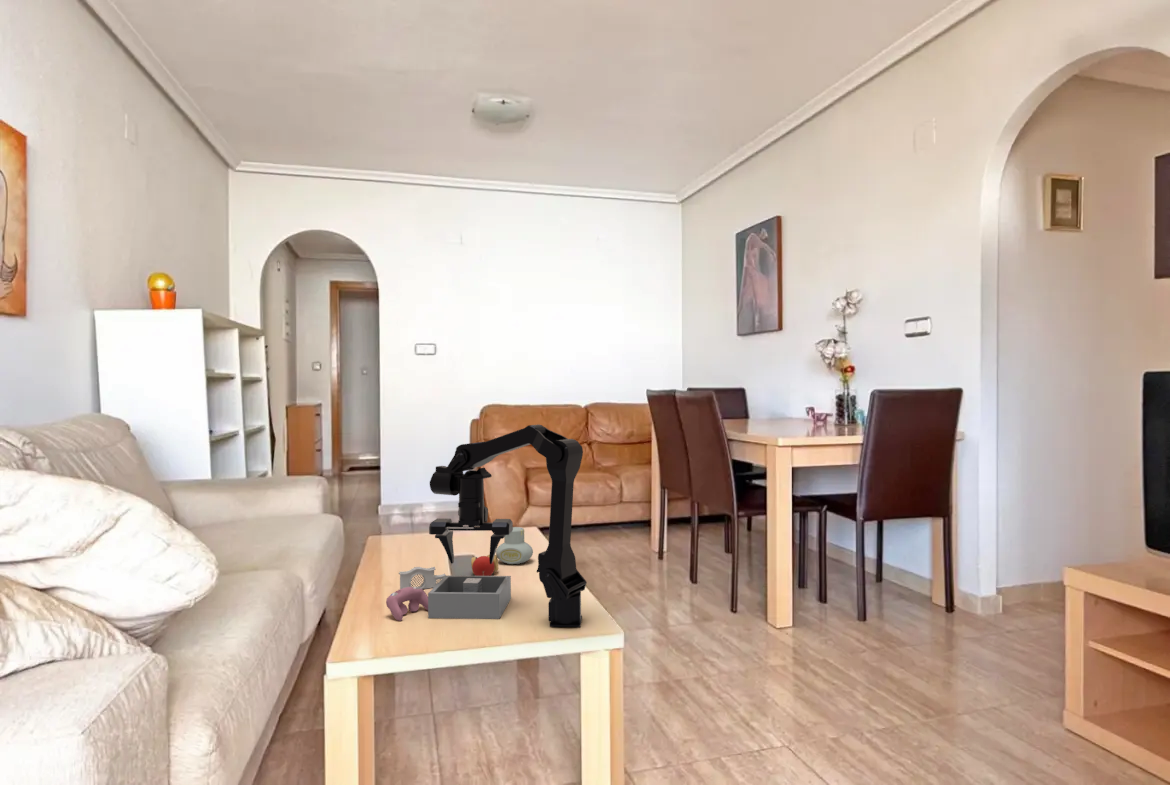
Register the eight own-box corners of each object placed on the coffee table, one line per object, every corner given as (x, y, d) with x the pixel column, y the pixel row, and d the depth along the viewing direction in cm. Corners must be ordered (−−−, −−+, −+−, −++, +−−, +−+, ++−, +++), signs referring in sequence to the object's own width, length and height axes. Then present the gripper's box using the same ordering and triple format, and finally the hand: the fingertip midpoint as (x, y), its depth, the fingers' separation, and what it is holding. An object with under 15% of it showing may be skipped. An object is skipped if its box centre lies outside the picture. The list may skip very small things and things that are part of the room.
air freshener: (535, 559, 203) (535, 526, 204) (529, 566, 195) (529, 531, 195) (500, 558, 205) (500, 525, 205) (492, 565, 197) (492, 531, 197)
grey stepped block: (481, 601, 160) (481, 578, 160) (474, 612, 152) (474, 587, 152) (467, 601, 160) (467, 578, 160) (459, 612, 152) (458, 587, 152)
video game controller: (425, 614, 157) (416, 585, 159) (436, 609, 155) (427, 579, 157) (388, 626, 150) (380, 595, 152) (399, 620, 147) (391, 589, 149)
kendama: (474, 569, 198) (465, 577, 180) (478, 547, 199) (469, 553, 181) (500, 574, 198) (493, 582, 180) (504, 552, 199) (498, 558, 181)
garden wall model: (444, 584, 177) (444, 562, 177) (446, 586, 175) (446, 563, 175) (398, 591, 171) (398, 568, 171) (400, 593, 169) (400, 570, 169)
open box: (510, 598, 164) (510, 575, 164) (499, 618, 149) (499, 594, 149) (446, 597, 165) (445, 575, 165) (428, 618, 150) (428, 593, 150)
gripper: (516, 492, 166) (516, 555, 166) (441, 491, 167) (441, 554, 167) (508, 499, 154) (508, 567, 154) (428, 498, 156) (428, 566, 155)
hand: (471, 563), depth 158 cm, fingers open, 9 cm apart
